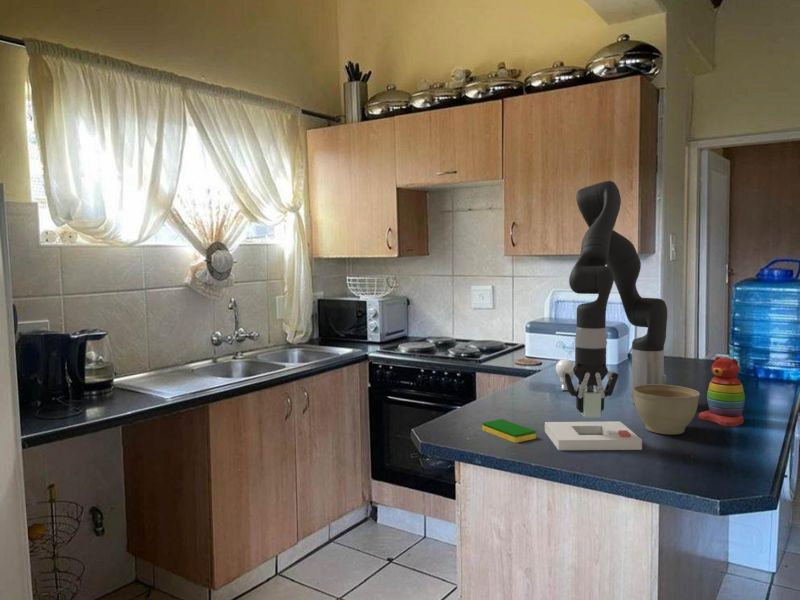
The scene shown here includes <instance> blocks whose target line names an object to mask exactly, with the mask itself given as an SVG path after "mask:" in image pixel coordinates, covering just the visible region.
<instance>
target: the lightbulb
mask: <svg viewBox="0 0 800 600" xmlns="http://www.w3.org/2000/svg"><path fill="white" fill-rule="evenodd" d="M574 367H575V363H573V362H572V361H571V360H569V359H566V358H565V359H560V360H558V362H557V363H556V365H555V371H556V373H557V376H558V377H559V381H560V384H561V385H560V387H561V390H562V391H564V392H567V391H568V389H567V386H566V383H565V380H564V377H563V373H564V372H570V371H573V368H574Z"/></svg>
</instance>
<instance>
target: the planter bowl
mask: <svg viewBox="0 0 800 600" xmlns="http://www.w3.org/2000/svg"><path fill="white" fill-rule="evenodd" d="M633 392H634V400H635V404H634V405H635V408H636V411H637V413H638V415H639V417H640V419H641V420H642V421H643V423H644V426H645V429H646V430H648V431H650V432H652V433H656V434H662V435H671V436H673V435H680V434H683V433H685V430H686V427H687V426H688V425H689V424H690V423H691V422H692V420H693V418H695V414H696V413H697V409H698V405H699V398H700V392H699V391H698V390H696V389H693V388H689V387H684V386H680V385H679V386H678V385H671V384H666V385H659V384H648V385H639V386H636V387H634V388H633Z"/></svg>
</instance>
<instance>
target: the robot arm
mask: <svg viewBox="0 0 800 600" xmlns="http://www.w3.org/2000/svg"><path fill="white" fill-rule="evenodd" d="M575 199H576V203H577V207H578V210H579V211H580V213H581V214H580V215H581V216H582V218H583V220H584V221H585V223H586V225H587V227H588V229H587V230H586V232H585V234H584V235H583V237H582V240H581V246H580V253H579V257H578V259H577V261H576V263H575V264H574V266H573V267H572V270H571V271H570V274H569V278H568V283H569V287H570V289H571V291H573V292H574V293H575V294H578V295H579V294H580V295H597V298H596V299H595V300H594V301H591V302H585V303H581V304H579V305H577V307H576V328H575V329H576V330H575V335H574V336H575V337H574V338H575V339H574V348H575V350H574V368H573V371H570V372H564V373H563V377H564V380H565V383H566V386H567V389H568V390H567V391H568V394H570V395H571V396H573V397H575V400H576V401H575V402H576V403H575V405H576V406H575V407H576V410H577V411H578V412H579V414H581V413H583V394H584V391H585V389H587V385H594V388H595V389H596V391H598V392H600V393H601V413H602V411H604V410H605V398H606V397H608V396H609V397H610V396H612V395H613V392H614V390H615V387H616V385H617V381H618V378H619V374H618V372H615V371H610V370H609V369H608V367H607V346H608V341H607V331H606V330H607V329H606V324H607V323H606V321H607V306H608V301H609V298H610V294H611V292H612V288H613V285H614V284H615V287H616V289H617V292H618V294H619V297H620V300H621V303H622V307H623V311H624V313H625V316H626V318H627V320H628V322H629V323H630V324H631V325H632V326H635V327H638V328H647V329H646V330H647V331H646V334H644V335H643V336H641V337H637V338H634V339H633V340H632V341H631V342H632V343H631V348H632V349H631V403H632V404H633V405H635V400H634V392H633V388H634V387H636V386H639V385H648V384H659V385H667V375H666V374H665V373H664V371H665V370H664V369H665V368H664V367H665V366H664V362H665V361H664V359H665V357H664V355H665V342H666V338H667V325H668V323H667V322H668V307H667V304H666V302H665V300H664V299H662V298H657V297H642V296H641V295H640V293H639V291H638V289H637V286H636V285H637V281H638V278H639V276H640V272H641V269H642V268H641V267H642V263H641V259H640V257H639V254H638V252H637V250H636V247H635V245H634V243H632V242H631V240H630V239H628V238H627V237H625V236H624V235H622V234H621V233H619V232H617V231H615V229H614V228H615V226H616V222H617V219H618V216H619V213H620V209H621V205H622V204H621V203H622V202H621V201H622V200H621V199H622V197H621V195H620V190H619V188H618V186H617V184H616V183H615V182H614V181H612V180H606V181H601V182H598V183H595V184H592V185H588V186H585V187H582V188H580V189H579V190H578V191H577V192H576V196H575ZM574 376H575V377H576V378H577V380H578V381H577V386H576V387H577V388H576V390H575V387H574V384H573V381H572V380H574ZM606 377H607V379H608V380H607V383H606V385H605V388H604V385H603V380H604V379H605V378H606Z"/></svg>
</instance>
